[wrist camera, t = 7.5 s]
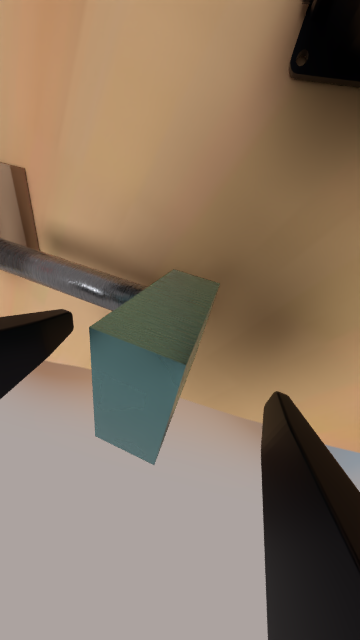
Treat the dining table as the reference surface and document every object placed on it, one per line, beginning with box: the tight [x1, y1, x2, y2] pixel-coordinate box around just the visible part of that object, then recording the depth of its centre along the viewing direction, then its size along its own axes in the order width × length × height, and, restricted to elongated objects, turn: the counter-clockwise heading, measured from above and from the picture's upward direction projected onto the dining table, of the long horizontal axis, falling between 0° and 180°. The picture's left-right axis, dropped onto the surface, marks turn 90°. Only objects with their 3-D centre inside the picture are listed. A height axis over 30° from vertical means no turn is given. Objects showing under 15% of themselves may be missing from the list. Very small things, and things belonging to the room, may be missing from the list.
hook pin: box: [0, 238, 220, 465], centre depth 10 cm, size 18×5×7 cm, turn 77°
